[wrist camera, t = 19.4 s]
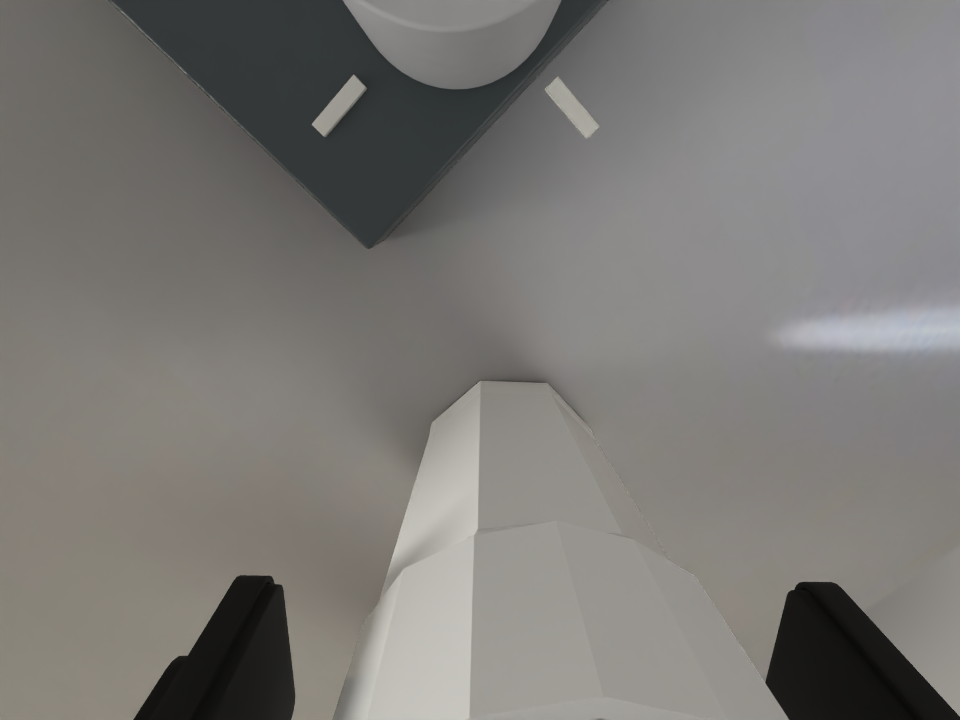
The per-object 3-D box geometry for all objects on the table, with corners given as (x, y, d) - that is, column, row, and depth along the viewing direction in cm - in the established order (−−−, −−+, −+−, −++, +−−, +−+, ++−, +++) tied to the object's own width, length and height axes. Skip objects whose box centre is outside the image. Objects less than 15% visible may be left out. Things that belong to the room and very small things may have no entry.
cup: (638, 508, 17) (894, 1007, 7) (448, 567, 18) (413, 1109, 7) (579, 322, 15) (812, 620, 5) (369, 396, 16) (166, 804, 5)
